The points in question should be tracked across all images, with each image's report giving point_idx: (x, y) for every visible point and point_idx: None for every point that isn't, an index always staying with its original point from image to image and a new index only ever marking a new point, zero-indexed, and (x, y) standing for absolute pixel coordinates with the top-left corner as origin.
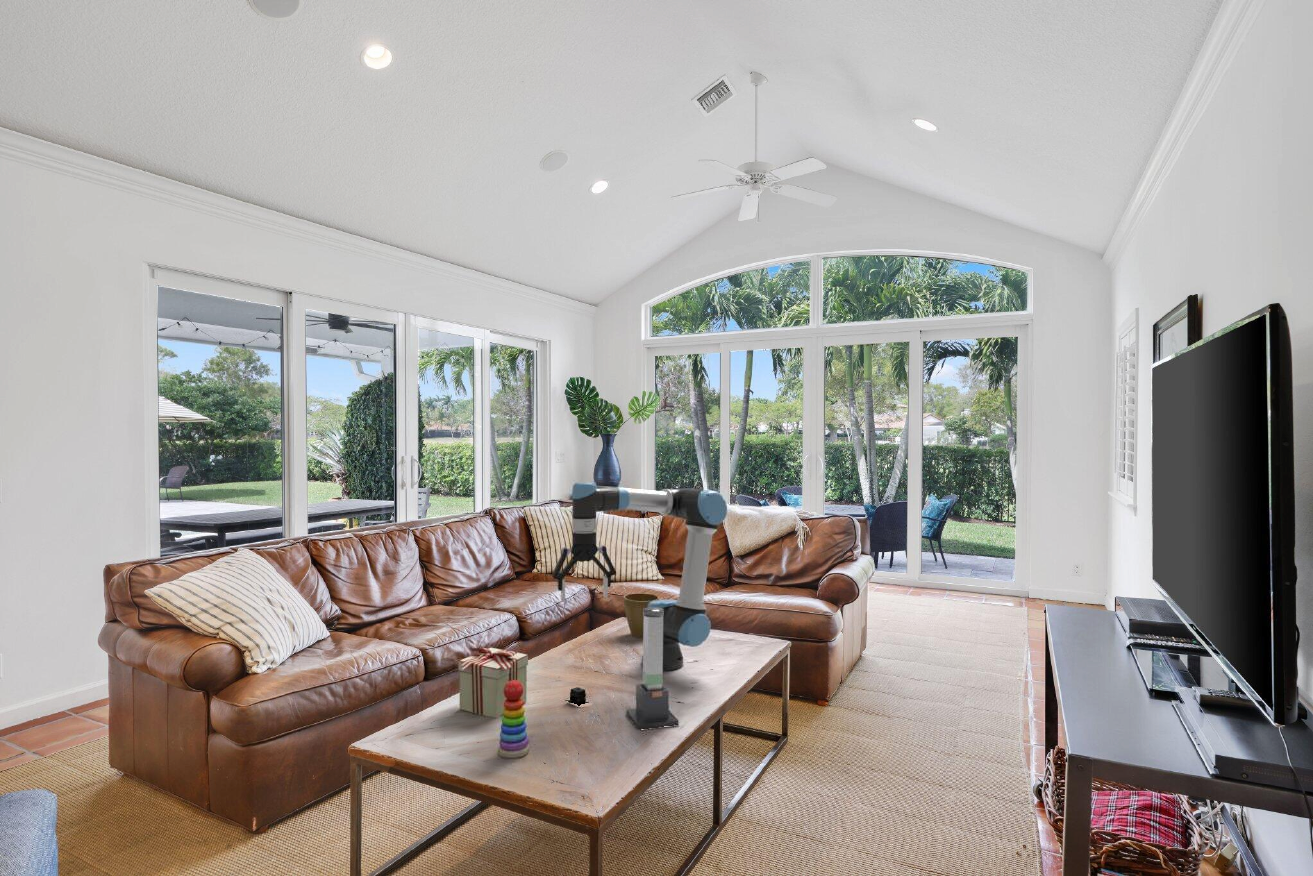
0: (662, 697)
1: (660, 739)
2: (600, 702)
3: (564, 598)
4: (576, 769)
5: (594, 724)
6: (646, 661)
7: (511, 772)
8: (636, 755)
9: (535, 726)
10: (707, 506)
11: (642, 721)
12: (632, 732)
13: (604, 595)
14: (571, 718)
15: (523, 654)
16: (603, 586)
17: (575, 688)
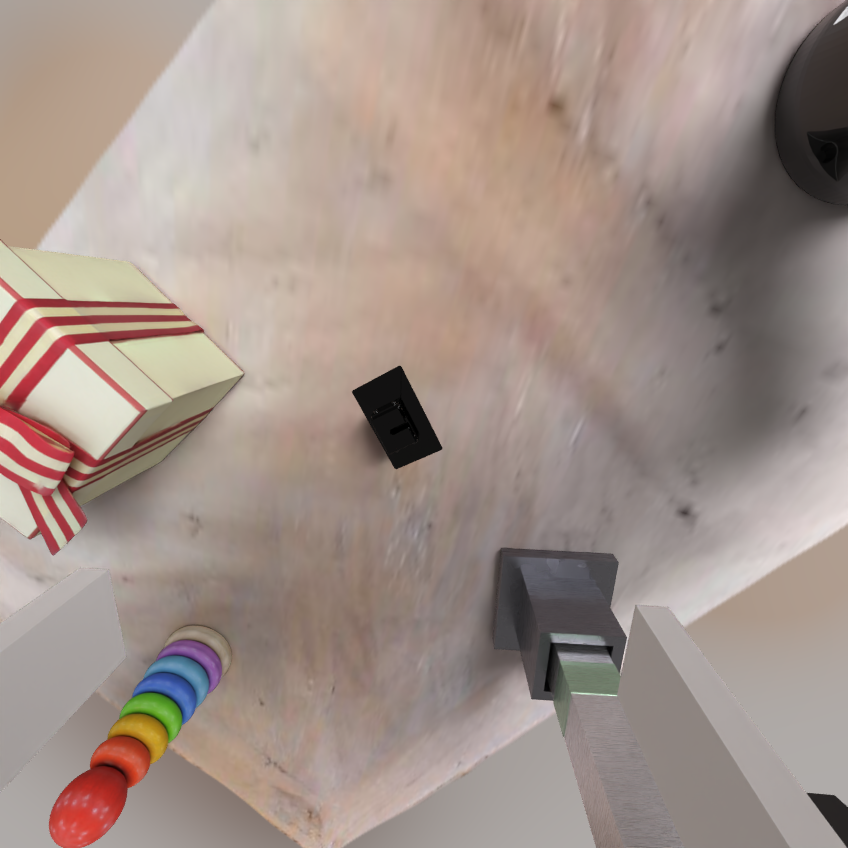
0: None
1: (521, 688)
2: (463, 442)
3: (88, 688)
4: (316, 741)
5: (403, 575)
6: (580, 772)
7: (197, 715)
8: (443, 730)
9: (258, 540)
10: None
11: (513, 633)
12: (476, 641)
13: (637, 686)
14: (355, 523)
15: (121, 404)
16: (724, 767)
17: (387, 420)
